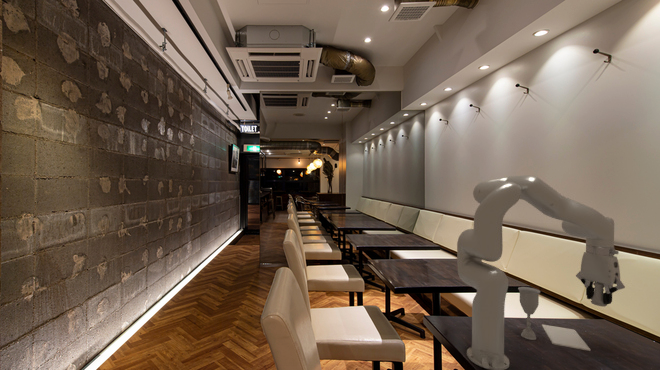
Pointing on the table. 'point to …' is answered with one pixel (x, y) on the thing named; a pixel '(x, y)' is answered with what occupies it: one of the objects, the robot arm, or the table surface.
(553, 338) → the grey mat
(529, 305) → the chalice
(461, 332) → the table surface
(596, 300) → the rook chess piece
